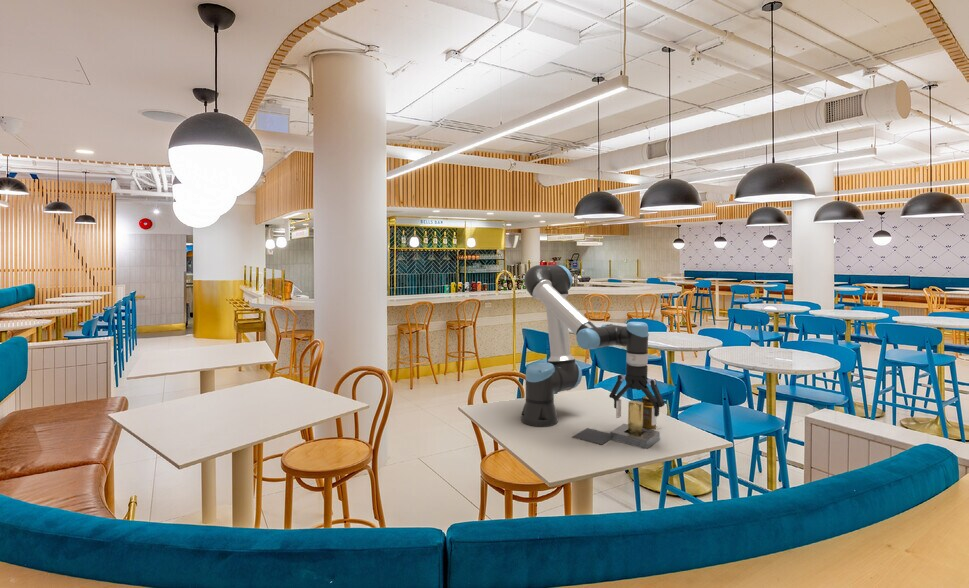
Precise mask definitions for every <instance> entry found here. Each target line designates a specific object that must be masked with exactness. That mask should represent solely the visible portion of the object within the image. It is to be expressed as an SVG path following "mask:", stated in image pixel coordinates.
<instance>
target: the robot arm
mask: <svg viewBox="0 0 969 588" xmlns="http://www.w3.org/2000/svg"><path fill="white" fill-rule="evenodd" d="M523 277H524V278H523V283H524V287H525V289H526V292H527V293H528V294H529V295H530V296H531V297H532V298H533V299H535V300H538V301H540V302H541V303H542V305H544V306H545V310H546V311H545V312H546V319H547V332H548V338H549V339H548V340H549V341H548V342H549V351H550V356H549V358H548V359H547V361H546V362H534V363H531V364H530V365H528V366H527V367H526V369H525V376H524V378H525V401H524V402H525V403H524V405H523V408H522V411H521V414H520V421H521V423H523V424H525V425H528V426H533V427H550V426H551V427H552V426H554V425H557V423H558V421H559V418H558V417H559V415H558V413H557V409H556V405H555V399H554V398H555V396H554V395H555V394H557V393H561V392H565V391H570V390H572V389H575V388H577V387H578V386H579V385H580V384H581V382H582V379H583V371H582V368H581V367H580V365H579V363H577V362H576V359H575V358H576V357H574V356H573V355H572V354H571V353H572V352H571V351H572V350H571V342H570V333H569V330H570V331H571V333H573V334H574V335H575V336H576V339H575V340H576V342H577V345H578V347H579V348H581V349H582V350H595V349H598V348H600V349H601V348H604V347H605V348H606V347H611V346H612V347H613V346H622V347H625V348H626V363H627V364H626V365H625V368H626V370H625V373H626V375H624V374H623V373H621V374H619V375H617V379H616V380H617V381H616V382H615V384H614V386H613V387H612V389H611V391H610V394H609V398H610V399H613V402H614V403H613V404H614V405H613V407H614V409H615V418H616V419H619V418H621V417H622V399H621V397H622V396H623V395H624V394H625V393H626V392H628V390H630V389H631V390H637V391H641V392H642V393H643V394H644V396H647V397H648V399H649V400H650V402H651V403H652V404H653V406H654V407H652V425H653V426H654V425H655V424H656V425H657V417H659V415H660V408H662V407H664V406H665V405H666V404H665V401H664V399H663V397H662V395H661V391H660V390H659V387H658V386H657V379H656V378H653V379H649V378H648V370H649V369H648V365H647V364H648V361H649V358H648V355H649V354H648V350H649V347H648V346H649V345H648V344H649V335H650V334H649V326H648V324H647V323H646V322H643V321H629V322H627V323H626V326H623V325H618V324H617V325H615V324H613V323H610V324H606V323H605V324H604V323H603V324H602V325H601V326H596V325H595V324H593V323H592V322H591V321H590V320H589V319H588V318H587V317H586V316H585V315H584V314H583V313H582V312H581V311H579V310H578V309H577V308H576V307H575V306H574V305H573V304H572V303H571V302H570V301H569V300H567V297H568V296H569V290H570V289H571V288H572V285H573V280H574V279H573V276H572V272H571V271H570V270H569V269H568V268H567V267H566V266H564V265H560V264H545V265H542V264H537V265H534V266H533V265H532V266H531V267H530V268H529V269H528V270H527V271H526V272H525V274H524V276H523ZM623 381H625V382H626V384H625V385H624V386H623V388H622V389H620V387H621V385H622V383H623ZM648 385H649V386H650V388H651V390H650V388H649V387H648ZM619 389H620V390H619ZM618 391H619V392H618ZM651 391H652V392H651ZM617 392H618V393H617Z"/></svg>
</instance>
